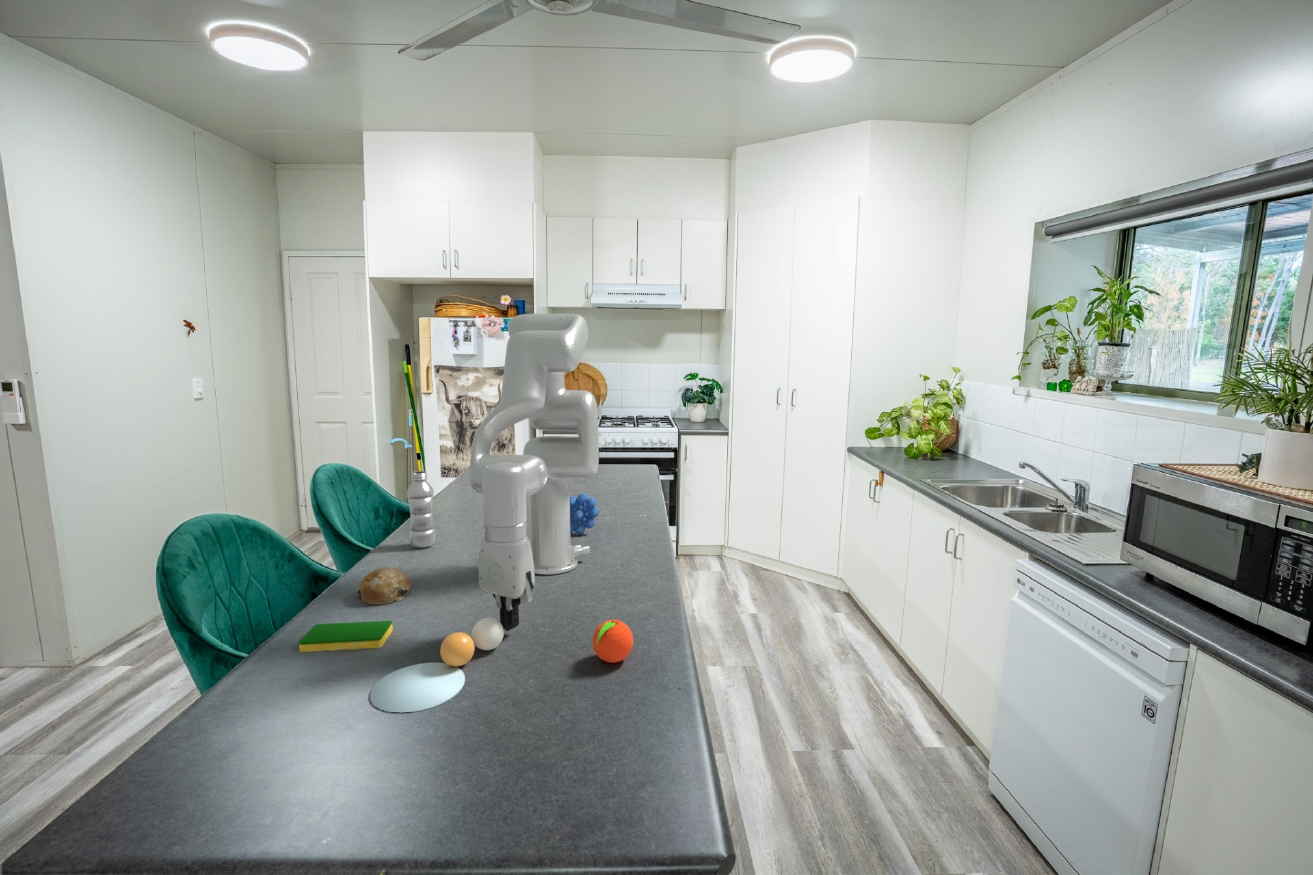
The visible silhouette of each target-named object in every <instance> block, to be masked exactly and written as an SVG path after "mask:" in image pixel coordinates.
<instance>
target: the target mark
mask: <svg viewBox="0 0 1313 875" xmlns="http://www.w3.org/2000/svg"><path fill="white" fill-rule="evenodd" d="M465 683H466V676H465V673H464V672H463V669H461V668H459V666H458V667H454V666H450V665H448V664H446V663H445V662H424V663H417V664H413V665H409V666H405V667H402V668H399V669H397V670H394V671H392V672H390V673H388V674H387V675H385V676H384V677H382V678H381V679H379V680H378V681H377V682H376V683H375V684H374V685H373V686H372V688H371V690H370V694H369V700H370V703H371V702H372V703H371V704H372V706H374V708H376V707H377V709H378V708H379V709H378V710H381V711H382V710H384V711H383V712H386V711H387V713H391V712H398V713H397V714H406V713H405V712H411V713H417V712H422V711H425V710H426V711H427V710H429V709H432V708H435V707H438V706H441V704H444V703H446V702H448V701H450V700H451V699H452V698H454V697H455V696H457V694H458V693H460V692H461V690H462V689H463V687H464V685H465ZM399 712H400V713H399ZM401 712H402V713H401ZM403 712H404V713H403Z"/></svg>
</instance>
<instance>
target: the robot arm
mask: <svg viewBox="0 0 1313 875" xmlns="http://www.w3.org/2000/svg"><path fill="white" fill-rule="evenodd" d="M507 327H508V329H507V331H508V336H509V339H508V341H507V343H506V350H505V359H504V367H503V368H504V369H503V377H502V378H503V379H502V386H501V387H502V388H501V397H500V401H499V402H498V404H497V405H496V407H494V408H493V409H492V410H491V411H490V412H489V413H488V414H487V415H486V417H485V418H484V419H483V420H482V421H481V423H480V424H479V426H478V427H477V429H476V432H475V434H474V436H473V440H472V442H471V450H470V460H469V467H468V476H469V478H468V479H469V483H470V486H471V487H472V489H473V491H475V492H476V493H479V494H482V506H483V523H482V527H483V531H484V533H483V534H484V536H483V537H482V538H481V540H480V541H481V542H480V548H479V556H478V557H479V558H478V583H479V587H480V589H481V590H483V591H485V592H486V593H488V594H490V595H491V596H492V597H493V598H494V599H495V603H496V604H495V605H496V607H497V608H498V609H499V622H500V623H501V625H502V626H503V630H504V631H506V632H509V631H511V630H513V629H515V628H516V627H518V626H519V624H520V616H519V613H520V612H519V611H520V610H519V607H520V606H522V604H528V603H531V602H532V601H533V599H534V598H533V594H532V593H533V591H534V590H535V583H536V577H535V574H536V575H556V574H557V575H558V574H564V573H567V572H569V571H572V570H573V569H575V568H576V567H577V566H578V557H579V556H581V555H588V554H590V553H591V549H590V548H591V547H590V546H589V545H584V546H582V545H581V544H578V545H572V544H571V542H572V541H571V534H570V497H571V496H570V493H569V489H568V487H566V485H565V483H564V482H563V481H562V480H561V478H587V477H589V478H590V477H592V476H594V475H595V474H596V473H597V471H598V468H599V463H600V462H599V460H600V454H599V453H600V448H599V445H600V444H599V413H598V410H599V409H598V405H597V400H596V398H595V395H594V394H593V393H592V392H590V391H588V390H584V389H581V390H580V389H566V385H565V373H572V372H574V371H575V370H576V368H578V366H579V364H580V361H581V360H582V357H583V355H584V352H585V350H586V347H587V345H588V340H589V328H588V324H587V321H586V319H585V318H584V317H583V316H582V315H580V314H577V313H524V314H517V315H515V316H513V317H512V318H510V320H509V321H508V325H507ZM527 419H529V423H530V426H532V428H533V429H536V430H538V431H545V432H546V431H547V432H575V433H577V436H572V435H571V436H567V435H566V436H562V435H561V436H560V435H544V436H543V435H542V436H536V437H533V438H531V439H529V440H528V441H526V443H525V445H524V447H523V453H522V454H491V450H492V446H493V444H494V442H495V440H496V439H497V437H498V436H499V435H500V434H501V433H502V432H504V431H505V430H506V429H508V428H511V427H512V426H513V425H515V424H518V423H520V422H523V421H524V420H527ZM527 497H528V504H529V505H528V507H529V509H528V510H529V537H530V538H528V514H527V513H528V510H527Z"/></svg>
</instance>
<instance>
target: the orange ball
mask: <svg viewBox="0 0 1313 875" xmlns="http://www.w3.org/2000/svg"><path fill="white" fill-rule="evenodd" d="M475 647H476V646H475V644H474V642H473V640H472V636H470V635H469V634H468V633H466V632H462V631H458V632H457V631H456V632H453V633H450V634H448V635H447V636H446V637H445V638H444V640H443V641H442V643H441V645H440V649H439V651H440V657H441V659H442V661H443V663H446V664H448V665H450V666H454V667H458V668H459V667H462V666H463V665H464V666H465V665H466V664H467V663H468V662H470V660H471V659H472V658H473V656H474V653H475Z"/></svg>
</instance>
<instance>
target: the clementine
mask: <svg viewBox="0 0 1313 875" xmlns="http://www.w3.org/2000/svg"><path fill="white" fill-rule="evenodd" d="M633 637H634V636H633V633H632V630H631V629H630V627H629V626H628V625H627V624H625V622H622V621H620V620H618V619H609V620H606V621H604V622H602V623H601V624H599V625H598V626H597V628H596V629H595V631H594V633H593V635H592V647H593V648H592V649H593V651H594V652H595V654H596V656H597V657H598V658H599V659H600V660H602V661H604V662H606V663H608V664H609V663H610V664H611V663H613V664H614V663H619V662H621V661H623V660H626V659H625V658H627V657H628V656H629V654H630V653H631V650H632V648H633V645H634V638H633Z"/></svg>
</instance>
